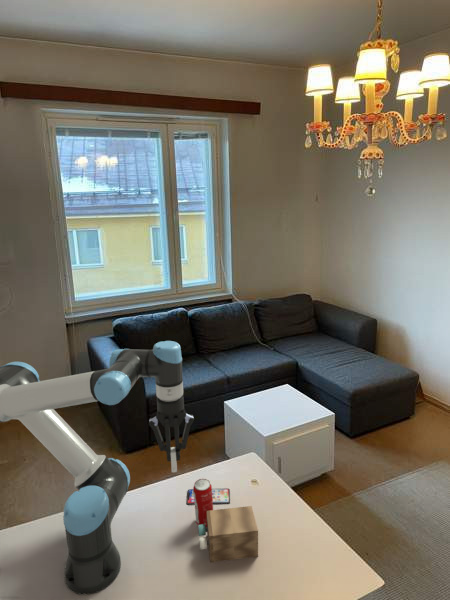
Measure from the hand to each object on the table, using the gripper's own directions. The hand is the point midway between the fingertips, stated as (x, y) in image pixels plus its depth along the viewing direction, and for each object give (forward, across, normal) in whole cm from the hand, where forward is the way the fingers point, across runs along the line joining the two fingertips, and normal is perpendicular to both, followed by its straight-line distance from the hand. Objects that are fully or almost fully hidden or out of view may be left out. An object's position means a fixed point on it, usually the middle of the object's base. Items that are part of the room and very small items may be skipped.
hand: (174, 469), depth 124 cm
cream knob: (+21, +10, -7) cm, 25 cm away
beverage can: (+25, +8, +5) cm, 27 cm away
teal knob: (+21, +10, -3) cm, 24 cm away
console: (+24, +16, -5) cm, 30 cm away
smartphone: (+25, +11, +17) cm, 32 cm away
